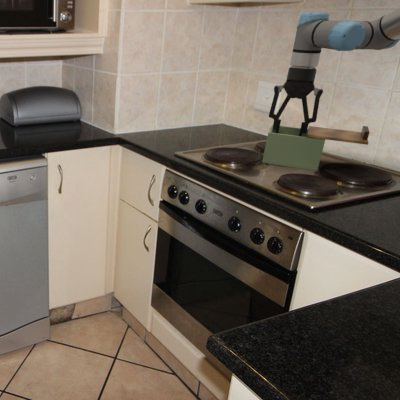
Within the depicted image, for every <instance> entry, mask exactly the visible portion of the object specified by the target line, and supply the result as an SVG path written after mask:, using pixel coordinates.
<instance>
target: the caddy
mask: <svg viewBox="0 0 400 400" xmlns="http://www.w3.org/2000/svg"><path fill="white" fill-rule="evenodd" d="M300 129H301V127H296V126H286V125H280V128H279V133H276V130H273V124H271V126H270V129H269V130H268V133H267V136H266V142H265V147H264V152H263V156H262V162H261V163H262V164H268V165H275V166H281V167H287V168H294V169H295V168H297V169H305V170H312V171H319V166H320V162H321V158H322V155H323V151H324V146H325V144H326V143H325V142H326V139H319V138H311V137H307V133H308V129H307V133H306V134H304V133H302V136H299V133H300ZM286 134H288V135H286Z"/></svg>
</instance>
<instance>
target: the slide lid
mask: <svg viewBox="0 0 400 400" xmlns="http://www.w3.org/2000/svg"><path fill="white" fill-rule="evenodd" d="M369 136H370V130H369V126H366V125H363V126H362V129H361V131H354V130H346V129H339V128H331V127H330V128H329V127H323V126H322V127H321V126H313V125H308V133H307V137H311V138H319V139H325V141H326V140H328V141H335V142H343V143H349V144H359V145H365V146H367V145H369Z"/></svg>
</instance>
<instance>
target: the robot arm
mask: <svg viewBox="0 0 400 400" xmlns="http://www.w3.org/2000/svg"><path fill="white" fill-rule="evenodd" d="M295 31H296V32H295V36H294V42H293V45H292V46H293V47H292V51H291V55H290V60H289V66H290V67H289V68H288V71H287V75H286V80H285V82H284V84H280V85H278V84H276V85H274V87H273V92H274V95H273V99H272V101H271V106H270V108H269V112H268V118H270V119H272V120H273V122H272V123H273V124H272V125H273V130H276V133H279V128H280V126H281V122H282V119H280V117H281V115H282V114H283V112H284V110H285V108H286V107H287V105H288V103H289V102H290V101H291V99H298V100H301V104H302V113H303V121H301V125H300V128H301V129H300V133H299V136H302V133H304V134H306V133H307V129H308V128H309V126H310V124H312V123H316V122H317V118H318V111H319V107H320V106H319V105H320V100H321V99H320V98H322V94H324V89H323V88H318V87H316V86H315V84H314V83H315V79H316V74H317V67H318V66H319V61H320V57H321V53H322V49H327V50H333V51H338V52H351V51H354V50H374V51H380V50H381V51H382V50H389V49H391V48H393V47H395V46H396V45H397V44H398V42H400V6H399V7H397V8H395V9H393V10H392V11H389V12H388V13H386V14H384V15H382V16H380V17H378V18H377V19H374V20H330V14H329V12H322V11H321V12H319V11H318V12H317V11H315V12H314V11H306V12H305V11H304V12H302V13H301V14H300V16H299V19H298V22H297V26H296V30H295ZM283 90H284V91H285V93H286V97H285V98H284V101H283V102H282V104H281V105H280V107H279V109H278V111H277V112H276V113H275V111H276V107H277V103H278V100H279V97H280V93H281V92H282V91H283ZM312 92H313V96H315V97H314V103H313V109H312V115H311V117H310V113H309V106H308V98H307V97H308V96H309V95H310V94H311V93H312Z"/></svg>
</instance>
